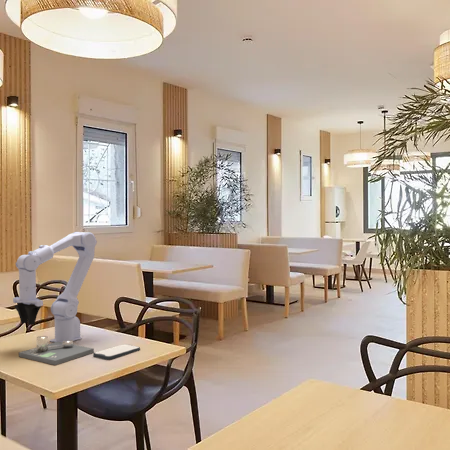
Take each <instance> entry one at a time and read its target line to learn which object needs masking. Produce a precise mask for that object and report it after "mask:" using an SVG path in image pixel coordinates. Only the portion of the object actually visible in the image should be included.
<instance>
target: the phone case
mask: <svg viewBox="0 0 450 450" xmlns="http://www.w3.org/2000/svg"><path fill="white" fill-rule="evenodd" d="M139 351H141V348H140V346H136V345H133V344H120V345H115V346H113V347H109V348H105V349H103V350H99V351H96V352H94V353H92V355H93V357H94V358H97V359H102V360H106V361H111V360H114V359H117V358H121V357H123V356H127V355H129V354H132V353H135V352H139Z"/></svg>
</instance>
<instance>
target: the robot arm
mask: <svg viewBox="0 0 450 450" xmlns="http://www.w3.org/2000/svg"><path fill="white" fill-rule="evenodd" d="M97 243H98V240H97V239H96V236H95V234H94V233H93V232H90V231H87V232H86V231H83V232H82V231H74V232H72V233H69V234H67V236H64V237H62V238H60V239H59V240H58V241H55V242H54V243H52V244H51V245H47V244H41V245H38V247H39V248H36V249H34V250H33V251H32V250H30V251H28V252H27V253H28V254H22V255H20V256H18V257H17V260H16V262H15V267H16V268H17V269H18V283H19V284H18V285H19V286H18V287H19V288H18V289H19V291H18V293H19V294H18V295H19V296H16V297H13V298H12V302H13V304H14V308H15V310H16V311H17V313H18V314H17V315H19V319H20V323H21V324H27V323H28V325H29V326H31V325H35V323H36V320H37V317H38V313H39V311H40V309H41V308H42V307H43V306H44V301H43V300H42V299H39V298H38V297H37V286H36V285H37V284H36V283H37V279H36V278H37V275H36V274H37V269H38V268H39V266H40V265H43V264H44V263H46V262H48V261H49V260H52V259H53V257H54V255H55V254H56V253H58V252H60V251H62V250H65V249H67V248H69V247H73V248H74V250H75V252H77V255H78V259H77V261H76V264H75V265H74V268H73V270H72V273H71V275H70V277H69V280H68V281H67V284H66V286H65V288H64V290H63V292H62V293H60V294H59V295H58V296H57V298H56V300H54V301H53V302H52V304H51V305H50V312H51V314H52V315H53V318H54V338H52V339H49V341H50V342H51V343H55V342H63V341H64V340H73V342H74V341H77V340H81V339H83V337H82V336H81V321H80V319H79V317H77V316H76V315H77V313H78V306H79V301H80V300H79V299H78V295H79V293H80V291H81V289H82V286H83V284H84V281H85V279H86V277H87V274H88V272H89V270H90V267H91V265H92V263H93V260H94V259H95V249H96V245H97Z"/></svg>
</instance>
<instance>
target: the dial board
mask: <svg viewBox="0 0 450 450" xmlns="http://www.w3.org/2000/svg"><path fill="white" fill-rule="evenodd" d="M61 344H63V342H51V343H48V346H55V345H61ZM35 348H36V347H33V348H30V349H26V350H22V351H19V352H18V357H20V358H24V359H28V360H32V361H36V362H39V363H45V364H48V365H54V366H57V365H60V364H64V363H66V362H69V361H72V360H76V359H78V358H81V357H85V356H87V355H91V354H93V353H95V352H94V351H95V348H93V347H88V346H85V345H84V346H83V345H78V344H73V346H72V347H61V348H55V349H48V350H47V351H36V352H31V349H35Z"/></svg>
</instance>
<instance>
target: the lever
mask: <svg viewBox="0 0 450 450" xmlns="http://www.w3.org/2000/svg"><path fill="white" fill-rule="evenodd" d="M48 342H49V339H48V336H47V335H39V336H37V337H36V347H34V348H35V349H33V348H30V349H31V352H36V351H47V350H48V349H55V348H61V347H72V346H73V345H74V341H73V340H64V341H63V344H61V345H55V346H48V344H49V343H48Z"/></svg>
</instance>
